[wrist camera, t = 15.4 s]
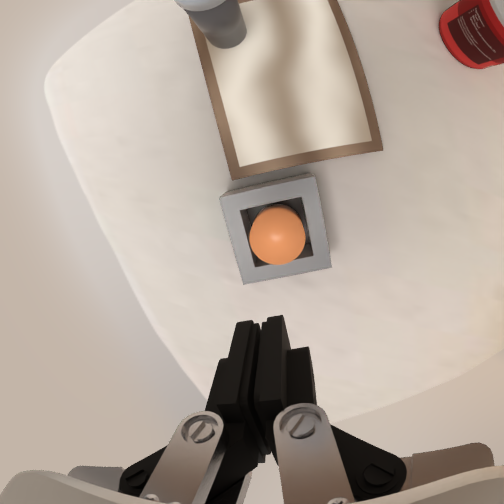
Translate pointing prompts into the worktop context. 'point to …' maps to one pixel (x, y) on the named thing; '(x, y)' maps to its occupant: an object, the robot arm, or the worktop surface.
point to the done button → (277, 234)
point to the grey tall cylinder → (217, 20)
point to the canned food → (475, 32)
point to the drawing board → (289, 88)
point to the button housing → (266, 193)
